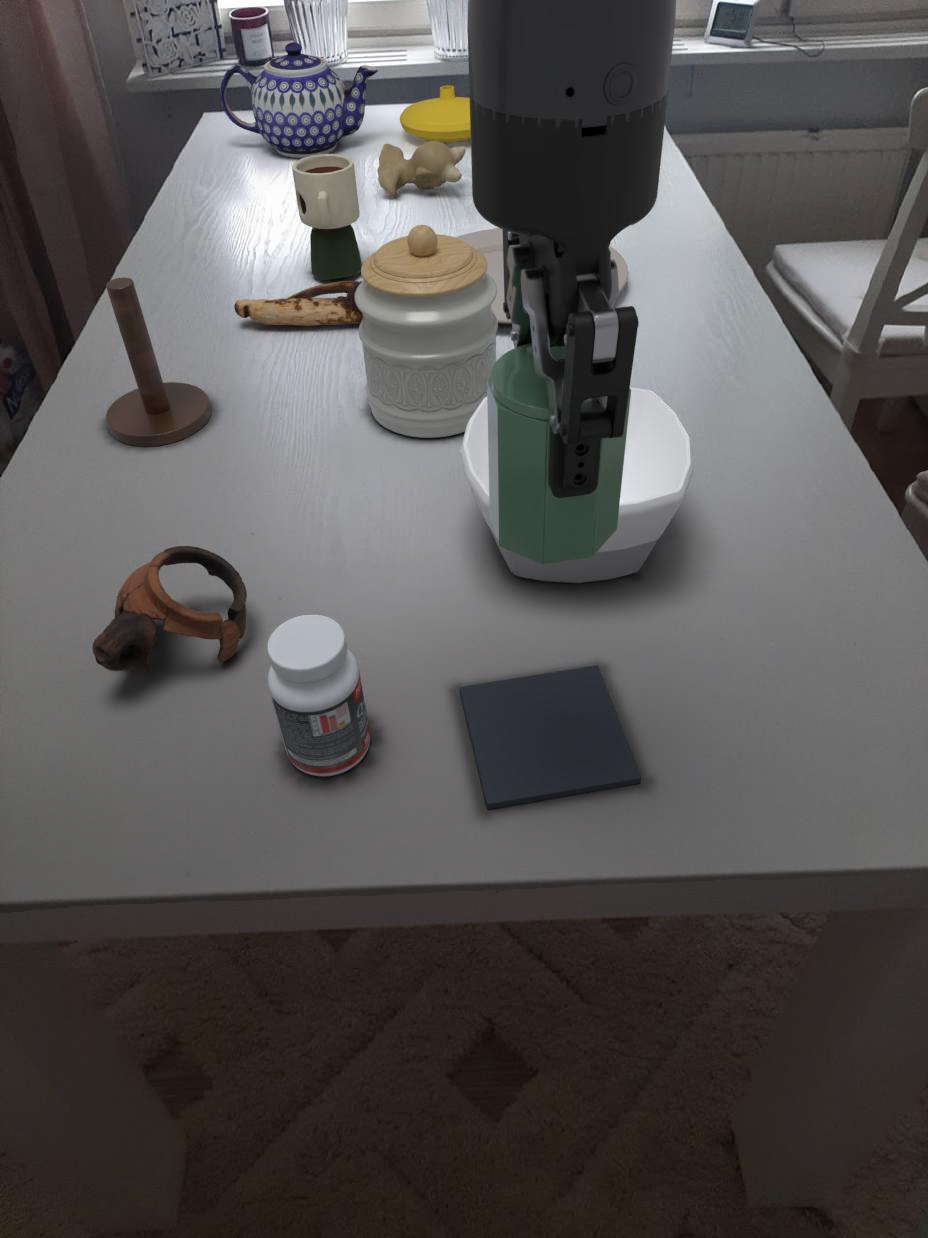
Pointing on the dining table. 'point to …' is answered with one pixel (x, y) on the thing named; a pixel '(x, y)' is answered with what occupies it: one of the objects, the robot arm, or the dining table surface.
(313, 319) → the bone fish hook
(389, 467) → the dining table surface
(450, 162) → the cat figurine
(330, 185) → the character mug
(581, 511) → the cup
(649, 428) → the bowl
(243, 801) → the dining table surface
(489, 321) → the jar
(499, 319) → the plate
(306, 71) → the teapot
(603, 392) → the robot arm
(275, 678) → the pill bottle
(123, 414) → the holder
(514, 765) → the coaster
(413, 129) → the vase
